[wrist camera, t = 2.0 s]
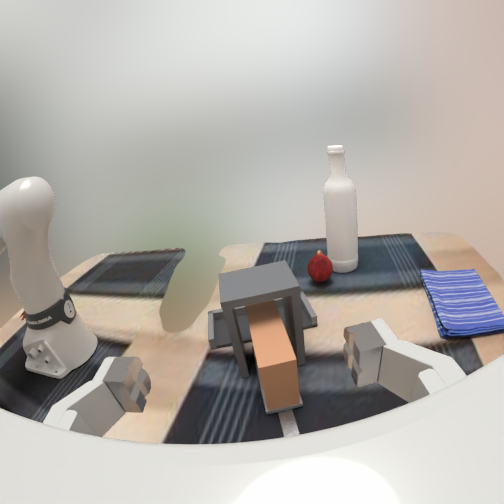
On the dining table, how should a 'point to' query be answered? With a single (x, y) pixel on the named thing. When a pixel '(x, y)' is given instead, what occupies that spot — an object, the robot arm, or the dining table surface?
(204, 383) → the dining table surface
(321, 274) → the onion
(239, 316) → the tray
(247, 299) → the tunnel
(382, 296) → the dining table surface
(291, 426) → the rail
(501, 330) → the dish towel
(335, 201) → the bottle
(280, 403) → the orange rectangular block
